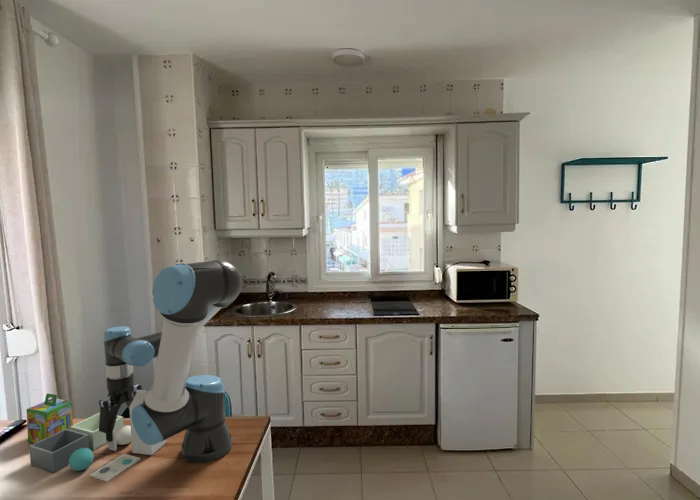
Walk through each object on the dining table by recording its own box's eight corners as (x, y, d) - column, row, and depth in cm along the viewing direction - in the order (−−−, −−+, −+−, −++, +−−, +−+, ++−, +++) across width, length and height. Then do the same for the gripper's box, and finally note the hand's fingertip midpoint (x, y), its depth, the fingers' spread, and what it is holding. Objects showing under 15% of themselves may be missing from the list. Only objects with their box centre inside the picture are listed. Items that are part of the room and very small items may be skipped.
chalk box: (27, 443, 132) (23, 399, 131) (55, 428, 140) (51, 388, 139) (47, 447, 129) (44, 403, 128) (74, 432, 138) (71, 391, 137)
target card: (140, 459, 121) (140, 457, 121) (106, 481, 111) (106, 479, 111) (124, 454, 124) (124, 453, 124) (89, 476, 114) (89, 474, 114)
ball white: (139, 440, 132) (138, 423, 131) (122, 450, 126) (121, 432, 126) (126, 437, 134) (125, 420, 134) (109, 446, 129) (108, 428, 128)
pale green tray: (124, 433, 136) (123, 416, 136) (94, 450, 126) (92, 432, 126) (102, 428, 140) (101, 411, 140) (71, 444, 130) (70, 426, 130)
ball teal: (98, 465, 119) (97, 445, 118) (78, 477, 113) (77, 457, 113) (85, 460, 121) (83, 442, 121) (64, 472, 116) (63, 452, 115)
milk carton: (151, 455, 123) (148, 396, 122) (132, 453, 125) (128, 394, 123) (166, 443, 130) (163, 386, 129) (147, 440, 132) (144, 385, 130)
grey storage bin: (90, 453, 125) (88, 434, 125) (54, 473, 115) (52, 453, 115) (67, 446, 129) (66, 428, 129) (30, 465, 119) (29, 446, 119)
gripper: (138, 362, 139) (142, 425, 141) (80, 385, 120) (86, 457, 122) (154, 365, 136) (158, 429, 138) (98, 389, 118) (103, 463, 119)
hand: (124, 442), depth 130 cm, fingers open, 7 cm apart
